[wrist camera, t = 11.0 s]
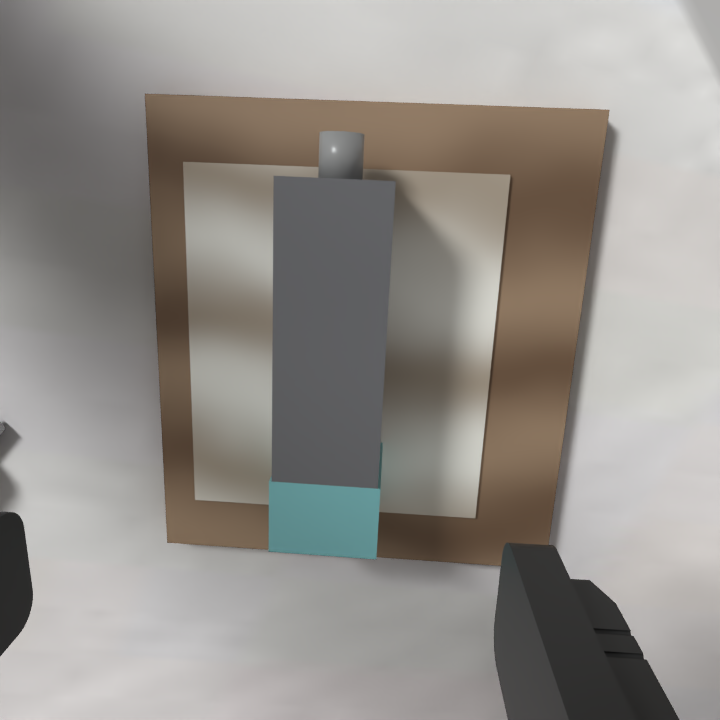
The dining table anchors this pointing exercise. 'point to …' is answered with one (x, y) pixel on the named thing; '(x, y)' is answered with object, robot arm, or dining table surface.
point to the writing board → (405, 312)
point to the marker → (329, 353)
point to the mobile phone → (1, 428)
